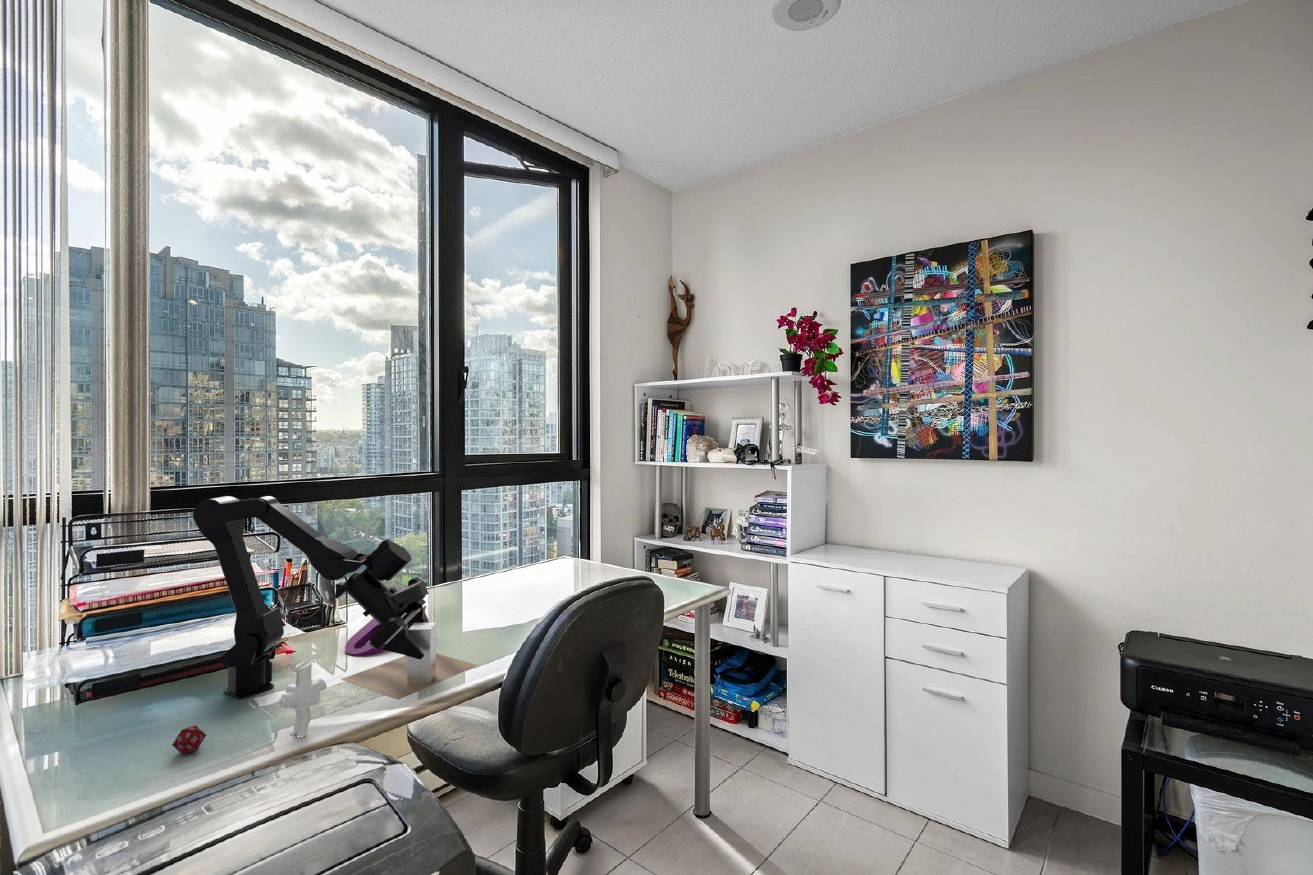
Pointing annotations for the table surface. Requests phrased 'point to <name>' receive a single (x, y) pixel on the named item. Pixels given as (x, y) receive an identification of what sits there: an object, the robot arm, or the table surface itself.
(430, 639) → the block
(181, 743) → the dice
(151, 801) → the table surface
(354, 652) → the mounting bracket
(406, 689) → the stub board
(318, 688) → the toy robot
